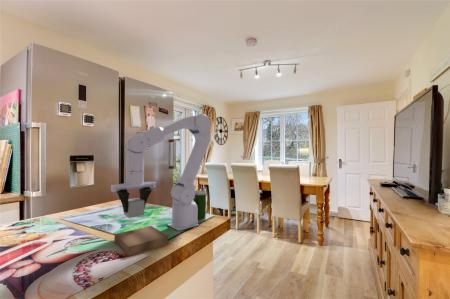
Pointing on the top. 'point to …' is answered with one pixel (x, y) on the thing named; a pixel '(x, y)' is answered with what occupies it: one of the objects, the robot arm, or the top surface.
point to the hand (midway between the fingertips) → (134, 210)
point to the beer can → (200, 204)
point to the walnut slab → (140, 240)
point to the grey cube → (135, 208)
